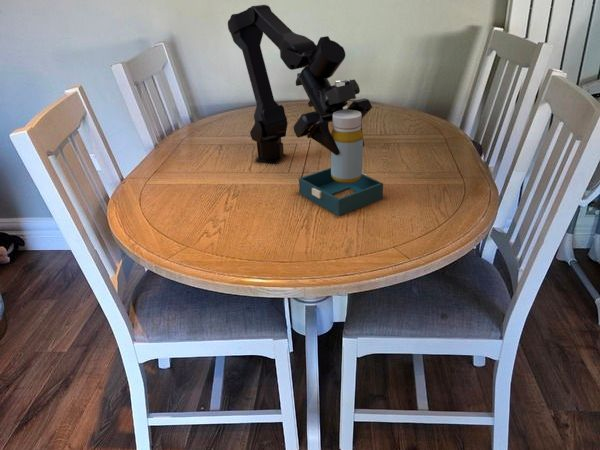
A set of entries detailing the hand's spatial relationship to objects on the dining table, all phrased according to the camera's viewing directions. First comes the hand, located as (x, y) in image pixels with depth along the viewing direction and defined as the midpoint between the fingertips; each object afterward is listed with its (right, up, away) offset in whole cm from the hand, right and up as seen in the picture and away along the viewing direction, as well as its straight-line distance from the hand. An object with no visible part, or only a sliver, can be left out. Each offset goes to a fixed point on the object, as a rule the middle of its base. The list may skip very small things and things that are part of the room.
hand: (350, 150), depth 106 cm
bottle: (0, -6, +5) cm, 7 cm away
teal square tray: (-2, -10, +9) cm, 13 cm away
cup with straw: (0, +7, +39) cm, 39 cm away
